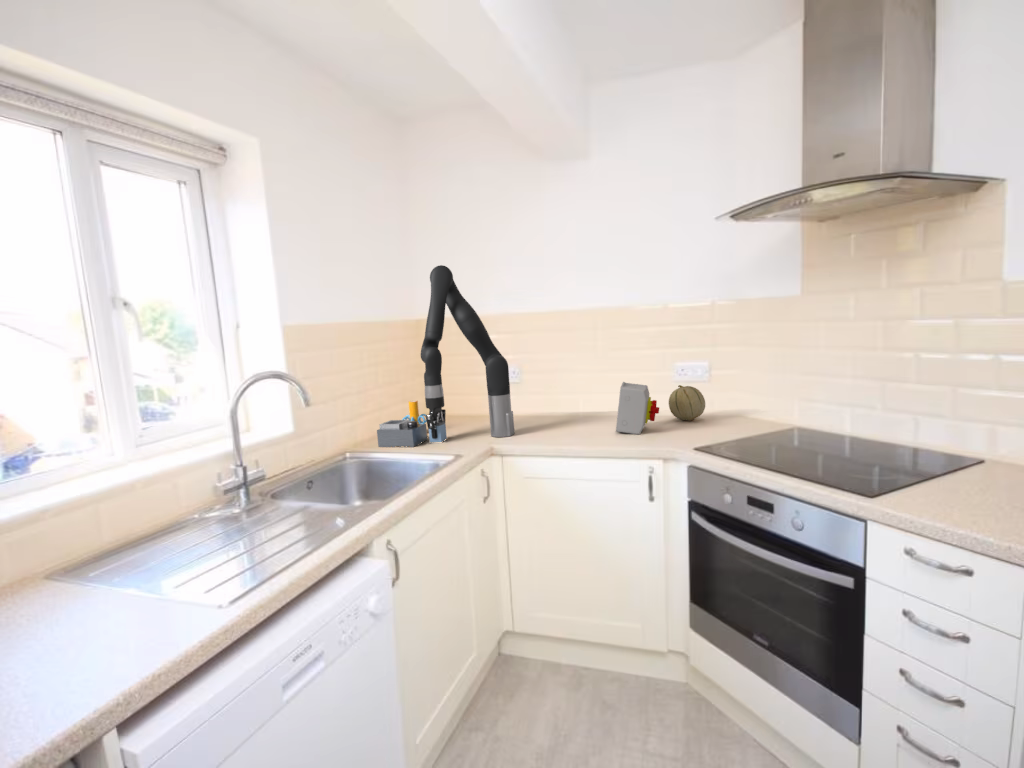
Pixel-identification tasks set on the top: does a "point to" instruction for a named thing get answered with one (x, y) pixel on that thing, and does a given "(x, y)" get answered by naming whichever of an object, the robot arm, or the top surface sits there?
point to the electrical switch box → (635, 408)
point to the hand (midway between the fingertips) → (437, 436)
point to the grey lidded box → (439, 432)
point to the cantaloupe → (686, 403)
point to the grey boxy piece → (401, 433)
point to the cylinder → (415, 413)
